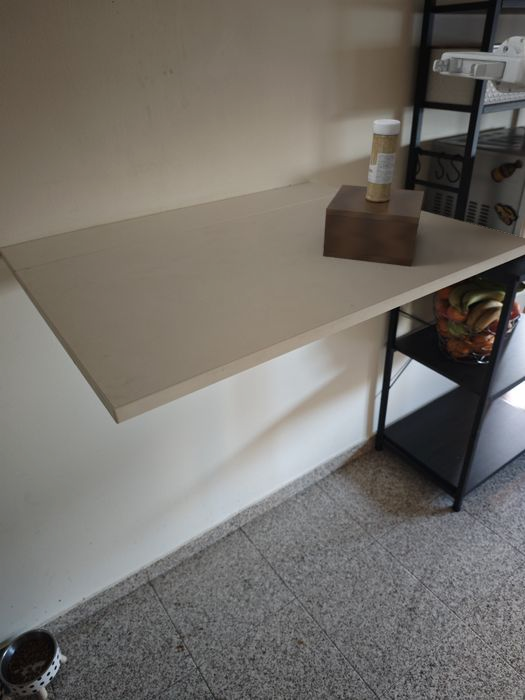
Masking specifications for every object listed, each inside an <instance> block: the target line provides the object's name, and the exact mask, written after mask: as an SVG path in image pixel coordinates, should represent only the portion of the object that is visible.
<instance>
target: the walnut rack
mask: <svg viewBox="0 0 525 700" xmlns="http://www.w3.org/2000/svg"><path fill="white" fill-rule="evenodd" d="M366 194H367V186H362V185H353V184H351V185H350V184H342V185H341V186H340V188H339V190H338V191H337V192H336V194H335V195H334V197H333V198H332V199H331V201H330V202H329V203H328V206H327V207H326V208H325V221H324V235H323V249H322V250H323V251H322V257H329V258H337V259H338V258H339V259H344V260H345V259H346V260H353V261H363V262H371V263H379V264H389V265H397V266H403V267H411V266H412V262H413V257H414V252H415V245H416V241H417V236H418V230H419V224H420V219H421V213H422V207H423V201H424V195H425V191H424V190H415V189H414V190H413V189H400V188H391V189H390V199H389V200H388V201H385V202H374V201H369V200H367V199H366Z"/></svg>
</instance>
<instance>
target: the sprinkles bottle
mask: <svg viewBox="0 0 525 700" xmlns="http://www.w3.org/2000/svg"><path fill="white" fill-rule="evenodd" d="M400 131H401V121H400V120H398V119H392V118H381V119H380V118H379V119H375V120H373V125H372V142H371V143H372V144H371V151H370V158H369V166H368V167H369V168H368V174H367V186H366V187H367V194H366V199H367V200H369V201H374V202H385V201H388V200H389V199H390V189H392V183H393V177H394V172H395V171H394V169H395V163H396V156H397V145H398V139H399V138H398V137H399V134H400Z"/></svg>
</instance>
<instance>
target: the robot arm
mask: <svg viewBox="0 0 525 700" xmlns="http://www.w3.org/2000/svg"><path fill="white" fill-rule="evenodd" d="M432 72H435V73H439V74H440V75H443V76H452V77H458V78H466V79H474V80H482V81H490V82H491V84H492V86H493V88H494V89H495V90H497V92H499V93H502V94H515V93H516V94H517V93H518V94H519V93H525V35H514V36H511V37H509V38H507V39H505V40H504V41H503V42H502V43H501V44H500V45H499V46H498V48H497V49H496V50H495V51H494V52H486V51H446V52H444V53H442V55H441V58H440V59H435V60H434V62H433V66H432Z"/></svg>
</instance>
